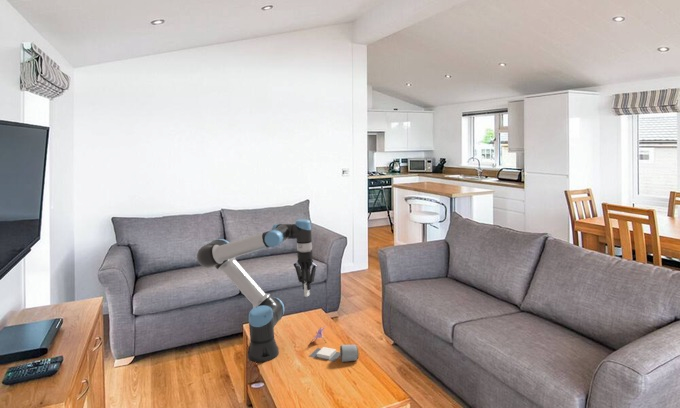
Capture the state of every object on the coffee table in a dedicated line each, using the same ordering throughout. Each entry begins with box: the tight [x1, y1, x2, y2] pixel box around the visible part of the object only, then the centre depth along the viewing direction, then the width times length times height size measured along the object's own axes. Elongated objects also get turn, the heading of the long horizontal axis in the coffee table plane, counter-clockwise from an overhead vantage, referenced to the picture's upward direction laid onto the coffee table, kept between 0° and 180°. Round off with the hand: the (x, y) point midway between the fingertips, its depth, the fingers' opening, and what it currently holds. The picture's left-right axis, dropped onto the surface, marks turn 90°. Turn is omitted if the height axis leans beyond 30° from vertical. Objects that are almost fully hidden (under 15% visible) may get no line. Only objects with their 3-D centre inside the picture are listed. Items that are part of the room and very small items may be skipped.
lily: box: [309, 324, 327, 344], centre depth 220 cm, size 12×12×10 cm
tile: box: [317, 346, 337, 360], centre depth 207 cm, size 2×7×7 cm
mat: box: [308, 347, 341, 363], centre depth 207 cm, size 14×9×1 cm, turn 64°
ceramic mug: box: [339, 344, 360, 363], centre depth 203 cm, size 11×8×8 cm
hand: (307, 295), depth 215 cm, fingers closed
